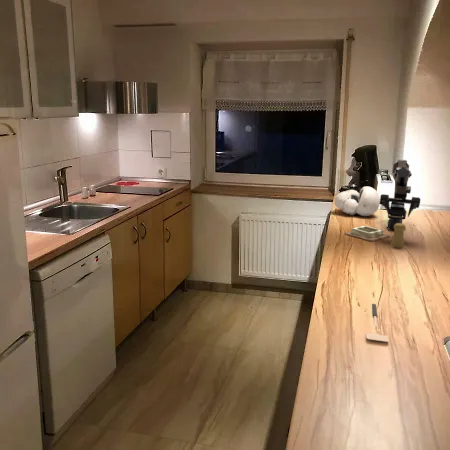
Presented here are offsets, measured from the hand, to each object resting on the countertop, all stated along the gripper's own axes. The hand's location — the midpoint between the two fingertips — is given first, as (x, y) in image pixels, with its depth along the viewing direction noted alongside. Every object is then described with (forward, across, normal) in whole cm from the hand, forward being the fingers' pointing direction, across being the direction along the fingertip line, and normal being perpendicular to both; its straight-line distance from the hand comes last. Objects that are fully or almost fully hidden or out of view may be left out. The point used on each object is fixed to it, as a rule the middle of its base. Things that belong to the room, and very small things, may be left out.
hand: (398, 215), depth 246 cm
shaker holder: (+6, -14, +13) cm, 20 cm away
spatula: (+80, -7, -63) cm, 102 cm away
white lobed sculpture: (-28, -22, +48) cm, 60 cm away
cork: (+15, +1, +4) cm, 16 cm away
